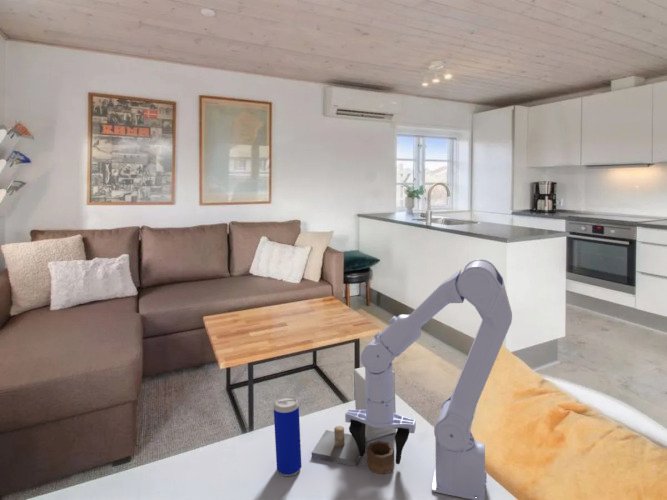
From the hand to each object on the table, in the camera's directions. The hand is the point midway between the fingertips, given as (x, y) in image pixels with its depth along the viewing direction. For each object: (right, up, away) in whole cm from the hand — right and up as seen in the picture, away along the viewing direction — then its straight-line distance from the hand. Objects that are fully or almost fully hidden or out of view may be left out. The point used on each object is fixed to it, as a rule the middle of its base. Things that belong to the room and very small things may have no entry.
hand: (380, 457), depth 85 cm
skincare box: (0, 0, +13) cm, 13 cm away
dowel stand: (-8, -1, +6) cm, 10 cm away
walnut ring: (0, -2, 0) cm, 2 cm away
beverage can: (-19, -3, 0) cm, 19 cm away
